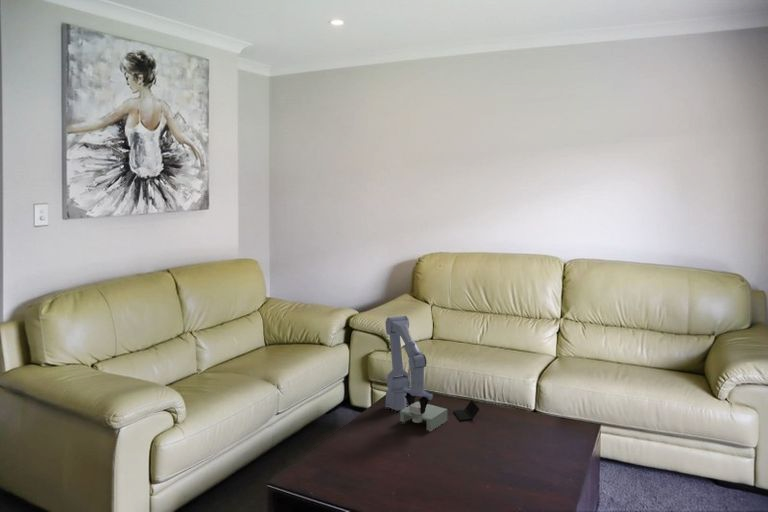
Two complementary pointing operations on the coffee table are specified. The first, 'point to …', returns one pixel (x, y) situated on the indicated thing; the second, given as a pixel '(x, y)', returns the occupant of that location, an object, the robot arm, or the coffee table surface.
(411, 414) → the slot bracket
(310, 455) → the coffee table surface
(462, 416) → the handheld gaming console
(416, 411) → the peg
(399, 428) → the coffee table surface
